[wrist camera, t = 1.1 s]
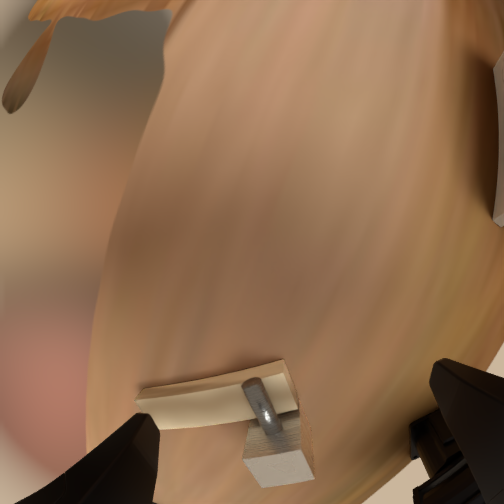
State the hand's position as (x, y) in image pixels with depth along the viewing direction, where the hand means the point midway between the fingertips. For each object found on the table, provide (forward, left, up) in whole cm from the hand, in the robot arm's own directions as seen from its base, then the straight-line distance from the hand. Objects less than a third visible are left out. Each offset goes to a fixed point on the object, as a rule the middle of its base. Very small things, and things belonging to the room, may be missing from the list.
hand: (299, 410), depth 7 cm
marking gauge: (-8, +4, -12) cm, 15 cm away
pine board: (-6, +9, -12) cm, 16 cm away
